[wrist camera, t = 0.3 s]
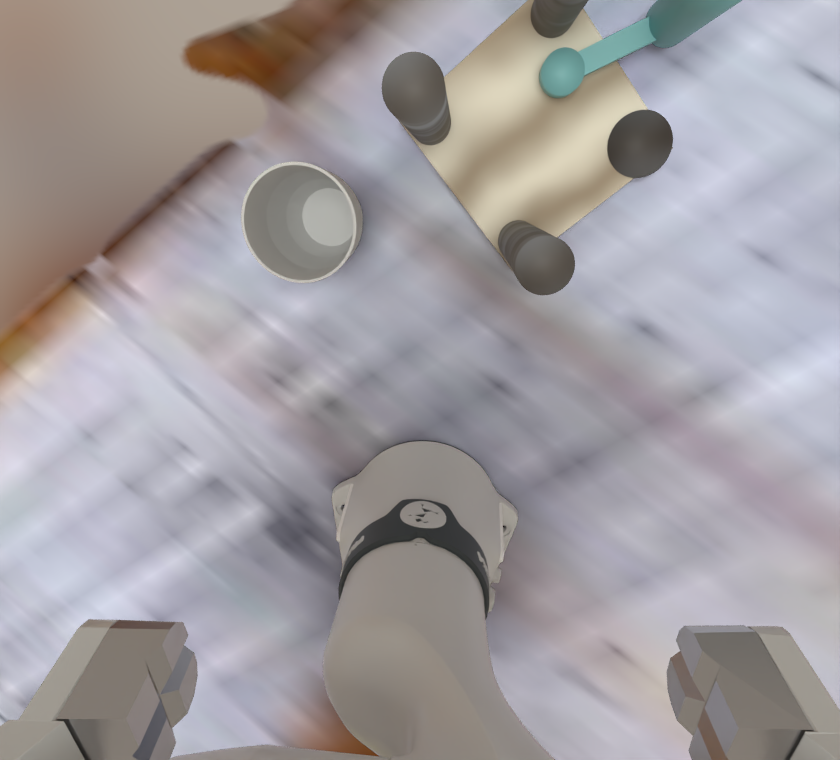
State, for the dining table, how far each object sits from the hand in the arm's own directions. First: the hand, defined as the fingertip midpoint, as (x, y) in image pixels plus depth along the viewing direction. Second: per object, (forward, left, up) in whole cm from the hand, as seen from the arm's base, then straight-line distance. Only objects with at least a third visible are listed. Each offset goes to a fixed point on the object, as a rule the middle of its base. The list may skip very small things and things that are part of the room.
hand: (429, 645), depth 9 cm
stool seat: (+12, -5, -42) cm, 44 cm away
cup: (+4, +11, -42) cm, 44 cm away
